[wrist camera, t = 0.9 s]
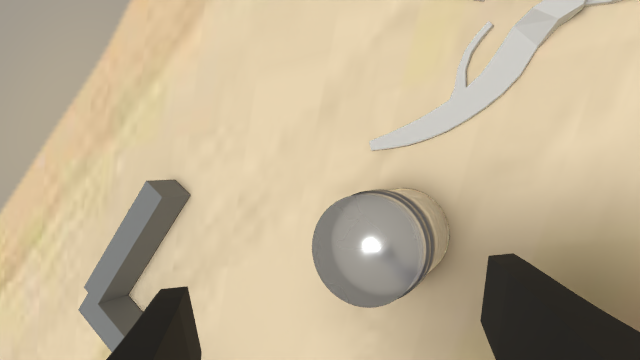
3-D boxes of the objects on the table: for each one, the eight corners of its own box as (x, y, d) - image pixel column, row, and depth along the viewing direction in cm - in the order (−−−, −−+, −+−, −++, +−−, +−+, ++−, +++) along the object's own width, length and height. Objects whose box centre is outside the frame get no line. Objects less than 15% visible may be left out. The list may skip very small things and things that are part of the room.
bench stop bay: (345, 351, 26) (326, 368, 24) (248, 468, 29) (222, 494, 27) (174, 179, 31) (144, 180, 29) (104, 295, 34) (72, 304, 32)
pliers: (320, -35, 25) (667, -203, 19) (332, -25, 27) (659, -177, 20) (366, 154, 24) (745, 45, 18) (377, 155, 26) (731, 54, 20)
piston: (471, 228, 24) (447, 246, 18) (412, 297, 25) (372, 334, 19) (397, 167, 25) (353, 168, 20) (344, 236, 26) (290, 255, 21)
